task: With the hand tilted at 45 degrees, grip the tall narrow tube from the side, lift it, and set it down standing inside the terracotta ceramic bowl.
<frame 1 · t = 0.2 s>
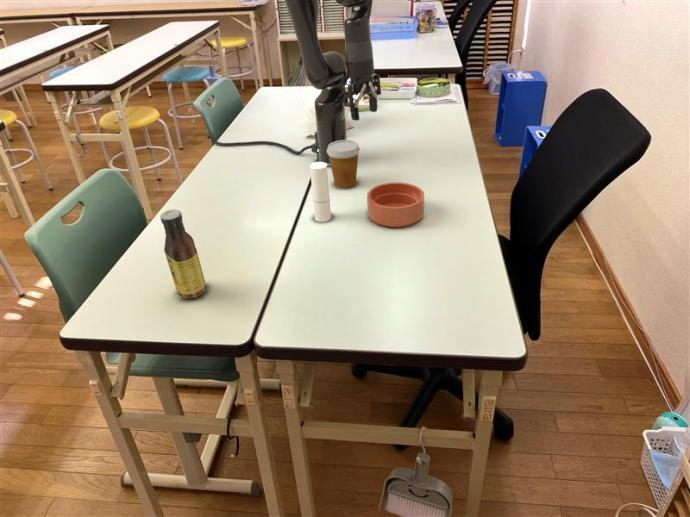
hand: (364, 115, 152), 17 cm above the table, tool pointing down, fingers open, 8 cm apart
bowl: (395, 215, 137), on the table
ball: (329, 130, 193), on the table
sauce bottle: (192, 292, 114), on the table
disposable coffee cup: (345, 184, 154), on the table
tube: (323, 218, 138), on the table
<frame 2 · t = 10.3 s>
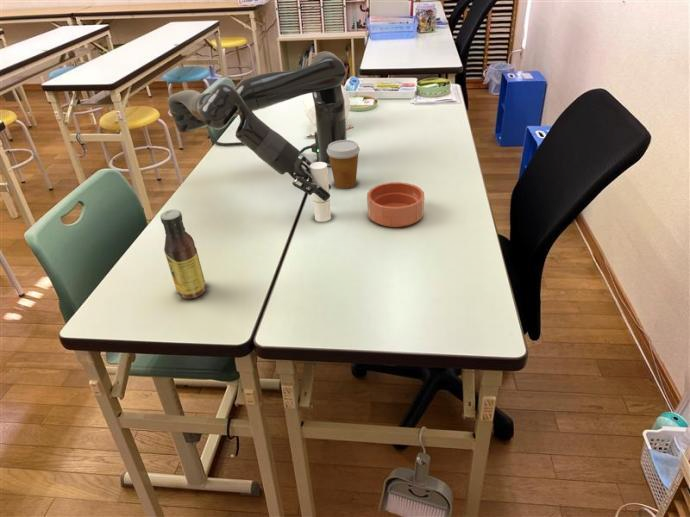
hand: (328, 193, 134), 7 cm above the table, tool tilted 45°, fingers closed on tube, 4 cm apart
tube: (323, 218, 138), on the table, touching gripper
everything else where it was.
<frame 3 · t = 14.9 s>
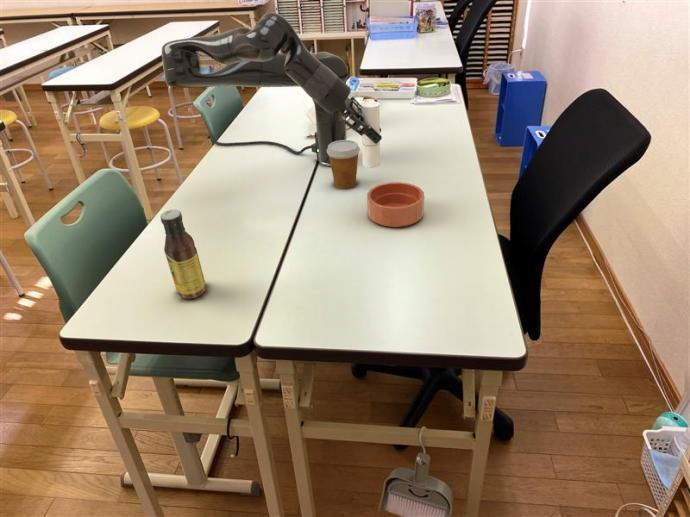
hand: (378, 136, 125), 22 cm above the table, tool tilted 45°, fingers closed on tube, 4 cm apart
tube: (371, 164, 129), point 15 cm above the table, touching gripper
everything else where it was.
when the fingers open (8 cm above the table, at t = 19.7 s): tube stays where it is, resting on bowl.
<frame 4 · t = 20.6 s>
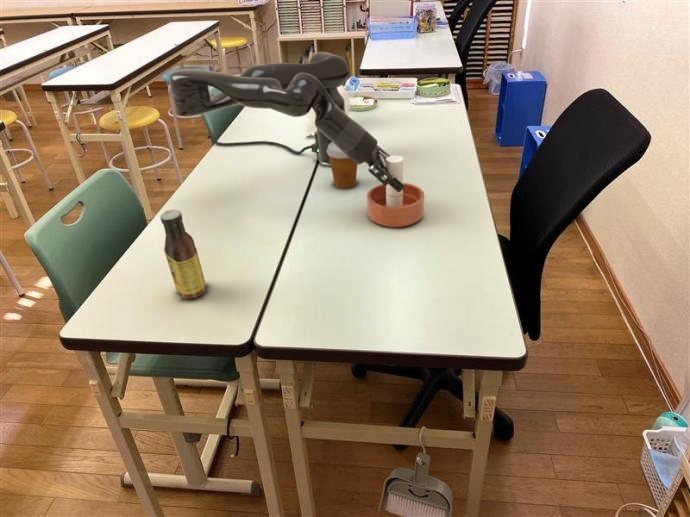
hand: (400, 181, 132), 10 cm above the table, tool tilted 45°, fingers open, 8 cm apart
tube: (394, 212, 137), point 1 cm above the table, touching bowl
everything else where it was.
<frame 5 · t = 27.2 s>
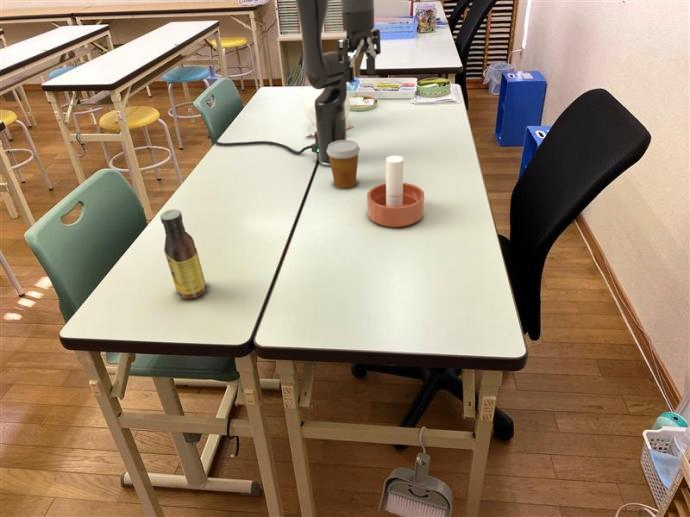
hand: (360, 77, 131), 32 cm above the table, tool pointing down, fingers open, 8 cm apart
nothing on the table moved.
at the end: tube inside the target area in the bowl (0.3 cm from its centre), point 0.6 cm above the bowl's base; the gripper is holding nothing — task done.
